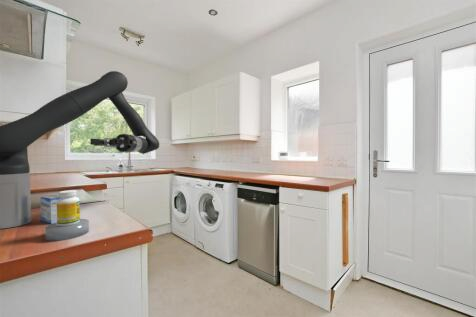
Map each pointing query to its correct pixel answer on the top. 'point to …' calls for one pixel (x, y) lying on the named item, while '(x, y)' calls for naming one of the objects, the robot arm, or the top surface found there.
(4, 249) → the top surface
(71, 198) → the supplement bottle
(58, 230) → the plinth
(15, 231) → the top surface
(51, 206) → the medicine box
